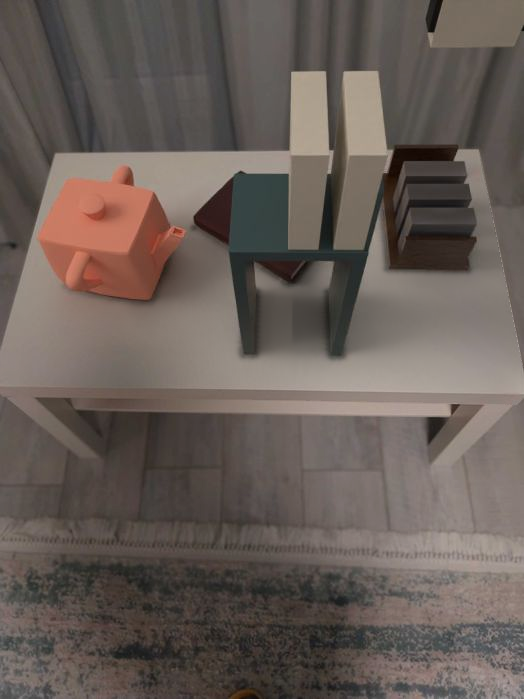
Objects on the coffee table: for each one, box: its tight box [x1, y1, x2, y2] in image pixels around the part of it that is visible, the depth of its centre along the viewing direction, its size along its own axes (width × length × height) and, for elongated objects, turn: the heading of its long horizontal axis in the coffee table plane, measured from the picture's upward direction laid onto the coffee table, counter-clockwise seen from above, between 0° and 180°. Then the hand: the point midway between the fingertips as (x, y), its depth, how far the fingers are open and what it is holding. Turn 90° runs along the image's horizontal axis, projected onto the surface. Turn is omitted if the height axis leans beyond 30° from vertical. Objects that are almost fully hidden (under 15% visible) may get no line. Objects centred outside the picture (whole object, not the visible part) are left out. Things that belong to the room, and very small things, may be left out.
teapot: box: [36, 165, 187, 301], centre depth 72 cm, size 20×22×14 cm
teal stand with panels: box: [227, 70, 389, 356], centre depth 57 cm, size 14×11×36 cm
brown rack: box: [381, 143, 478, 270], centre depth 77 cm, size 19×12×9 cm, turn 178°
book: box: [192, 170, 310, 283], centre depth 79 cm, size 12×19×3 cm, turn 53°
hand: (475, 25), depth 59 cm, fingers closed on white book, 10 cm apart
